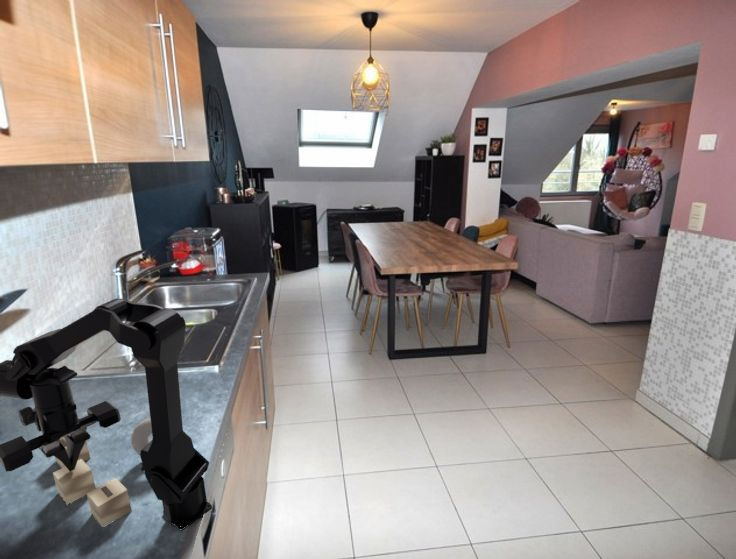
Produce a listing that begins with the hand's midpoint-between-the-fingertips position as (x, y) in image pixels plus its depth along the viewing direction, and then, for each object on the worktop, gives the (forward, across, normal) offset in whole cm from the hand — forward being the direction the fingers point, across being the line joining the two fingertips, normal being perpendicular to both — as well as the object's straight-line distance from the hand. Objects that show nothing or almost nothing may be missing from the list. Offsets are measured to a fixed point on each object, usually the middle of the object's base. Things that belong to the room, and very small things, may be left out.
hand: (71, 469), depth 84 cm
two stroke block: (+5, -3, -11) cm, 13 cm away
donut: (+6, -15, +3) cm, 16 cm away
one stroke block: (+5, -2, +11) cm, 12 cm away
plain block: (+5, 0, 0) cm, 5 cm away
